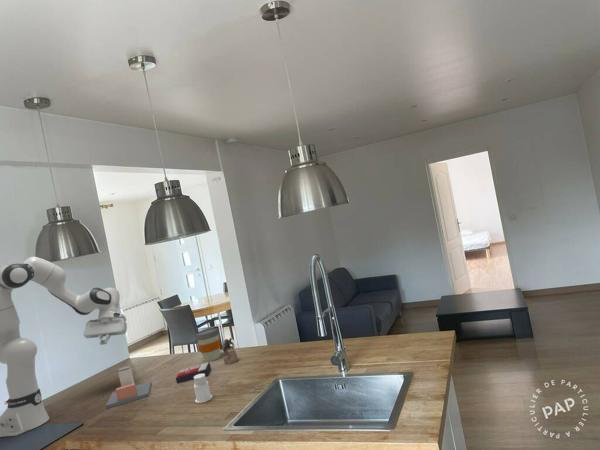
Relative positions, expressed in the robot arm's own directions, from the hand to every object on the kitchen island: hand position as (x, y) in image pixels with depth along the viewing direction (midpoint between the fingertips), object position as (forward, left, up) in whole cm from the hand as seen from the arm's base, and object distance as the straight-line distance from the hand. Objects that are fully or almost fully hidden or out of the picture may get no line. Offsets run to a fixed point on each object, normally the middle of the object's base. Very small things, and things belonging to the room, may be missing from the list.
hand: (103, 344), depth 217 cm
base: (+14, -10, -24) cm, 30 cm away
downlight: (+57, -31, -24) cm, 69 cm away
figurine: (+57, +14, -24) cm, 63 cm away
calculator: (+41, +2, -25) cm, 48 cm away
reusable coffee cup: (+43, +27, -24) cm, 56 cm away
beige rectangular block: (+14, -10, -23) cm, 28 cm away
